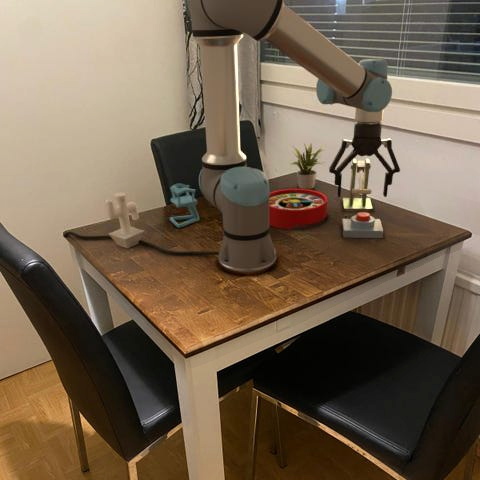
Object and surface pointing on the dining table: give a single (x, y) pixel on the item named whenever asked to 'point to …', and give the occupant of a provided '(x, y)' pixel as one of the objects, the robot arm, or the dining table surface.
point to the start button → (363, 216)
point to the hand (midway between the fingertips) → (361, 195)
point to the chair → (184, 204)
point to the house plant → (307, 167)
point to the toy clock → (296, 207)
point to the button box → (362, 228)
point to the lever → (361, 179)
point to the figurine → (124, 221)
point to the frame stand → (351, 201)
